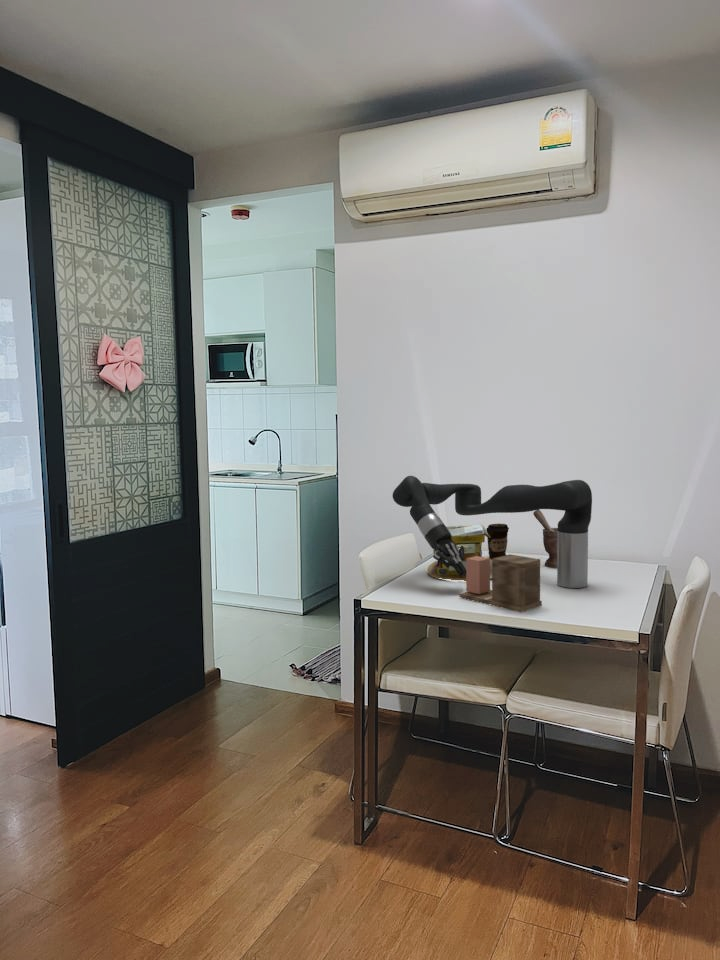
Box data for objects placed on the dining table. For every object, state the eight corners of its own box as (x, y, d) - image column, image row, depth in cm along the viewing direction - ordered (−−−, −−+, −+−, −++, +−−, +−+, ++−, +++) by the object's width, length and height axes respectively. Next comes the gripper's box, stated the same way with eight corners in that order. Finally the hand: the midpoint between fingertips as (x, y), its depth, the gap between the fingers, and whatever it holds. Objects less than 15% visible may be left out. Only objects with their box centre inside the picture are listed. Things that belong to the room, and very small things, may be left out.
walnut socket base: (459, 597, 218) (459, 553, 217) (480, 591, 224) (480, 548, 223) (520, 612, 202) (520, 564, 200) (541, 605, 208) (541, 558, 207)
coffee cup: (513, 560, 268) (513, 525, 266) (491, 562, 266) (491, 527, 265) (503, 556, 276) (503, 522, 275) (482, 557, 274) (482, 523, 273)
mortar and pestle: (537, 568, 254) (537, 512, 252) (531, 563, 262) (531, 508, 260) (570, 568, 254) (570, 511, 252) (564, 562, 262) (564, 508, 260)
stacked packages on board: (492, 585, 232) (492, 533, 231) (418, 579, 242) (417, 529, 240) (507, 568, 255) (507, 521, 253) (439, 564, 265) (439, 518, 263)
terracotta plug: (466, 591, 219) (466, 558, 218) (476, 588, 222) (476, 556, 221) (479, 594, 215) (479, 560, 214) (490, 591, 219) (489, 558, 218)
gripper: (441, 535, 236) (471, 578, 229) (413, 540, 228) (443, 585, 220) (454, 520, 232) (484, 564, 224) (426, 525, 223) (456, 571, 215)
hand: (464, 574), depth 222 cm, fingers closed
